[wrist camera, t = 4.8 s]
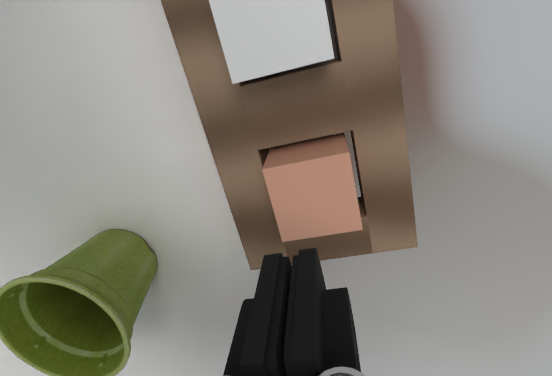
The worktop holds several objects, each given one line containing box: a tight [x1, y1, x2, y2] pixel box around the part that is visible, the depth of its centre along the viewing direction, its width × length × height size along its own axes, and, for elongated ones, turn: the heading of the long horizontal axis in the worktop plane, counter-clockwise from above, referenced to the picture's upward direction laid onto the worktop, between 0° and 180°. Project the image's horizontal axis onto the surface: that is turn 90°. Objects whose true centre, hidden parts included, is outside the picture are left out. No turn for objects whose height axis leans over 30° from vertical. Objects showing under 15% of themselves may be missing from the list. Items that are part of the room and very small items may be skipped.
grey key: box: [209, 0, 334, 84], centre depth 17 cm, size 5×5×4 cm
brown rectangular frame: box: [161, 0, 417, 270], centre depth 22 cm, size 22×12×3 cm, turn 14°
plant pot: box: [0, 229, 157, 376], centre depth 26 cm, size 9×9×9 cm
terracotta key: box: [262, 133, 363, 242], centre depth 22 cm, size 5×5×4 cm
